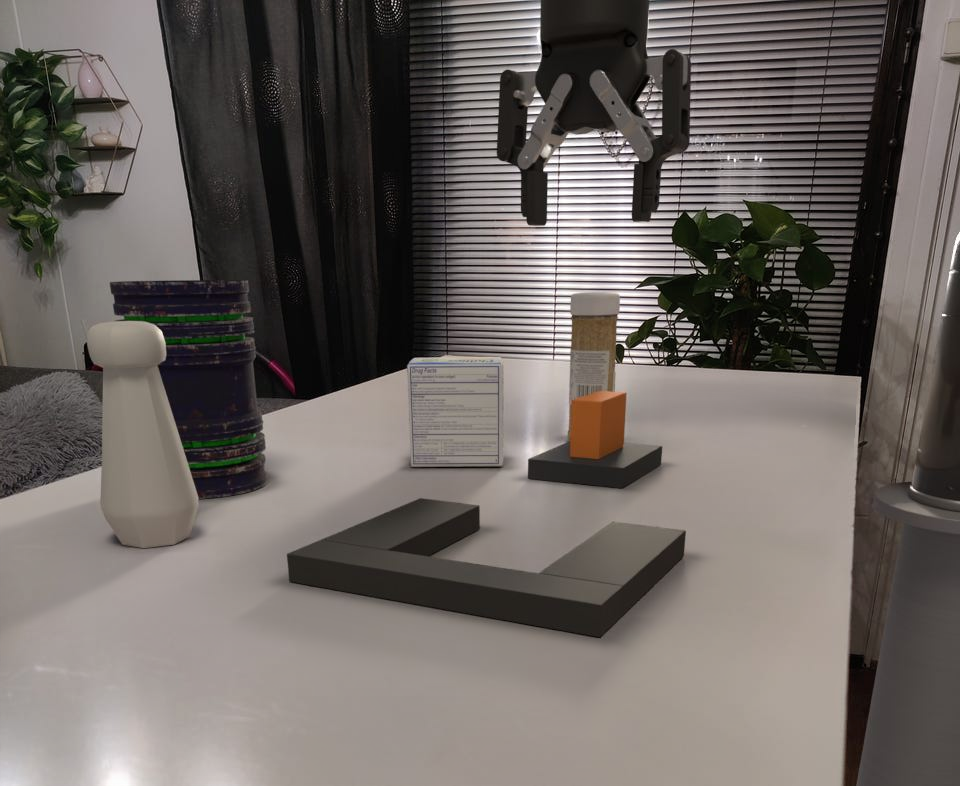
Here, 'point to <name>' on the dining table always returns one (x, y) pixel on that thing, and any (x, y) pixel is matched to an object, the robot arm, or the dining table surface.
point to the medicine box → (456, 411)
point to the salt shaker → (140, 439)
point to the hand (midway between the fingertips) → (587, 223)
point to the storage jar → (206, 376)
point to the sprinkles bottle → (592, 344)
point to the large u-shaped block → (489, 568)
